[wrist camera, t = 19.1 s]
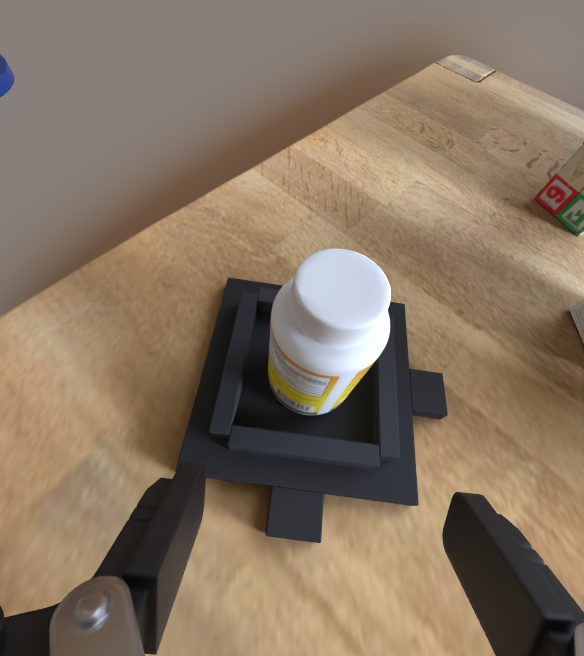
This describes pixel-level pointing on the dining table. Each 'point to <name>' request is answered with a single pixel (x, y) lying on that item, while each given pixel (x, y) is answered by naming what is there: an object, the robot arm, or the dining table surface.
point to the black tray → (305, 421)
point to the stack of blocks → (567, 193)
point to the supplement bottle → (327, 329)
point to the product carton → (579, 317)
